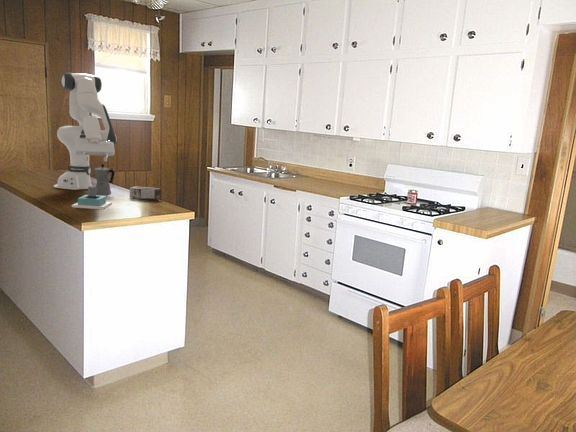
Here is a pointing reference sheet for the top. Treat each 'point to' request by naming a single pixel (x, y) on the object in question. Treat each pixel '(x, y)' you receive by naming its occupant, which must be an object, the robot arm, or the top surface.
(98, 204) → the keeper board
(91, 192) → the steel pin
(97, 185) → the coffeepot
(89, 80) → the robot arm
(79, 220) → the top surface
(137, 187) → the coffee box
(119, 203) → the top surface
